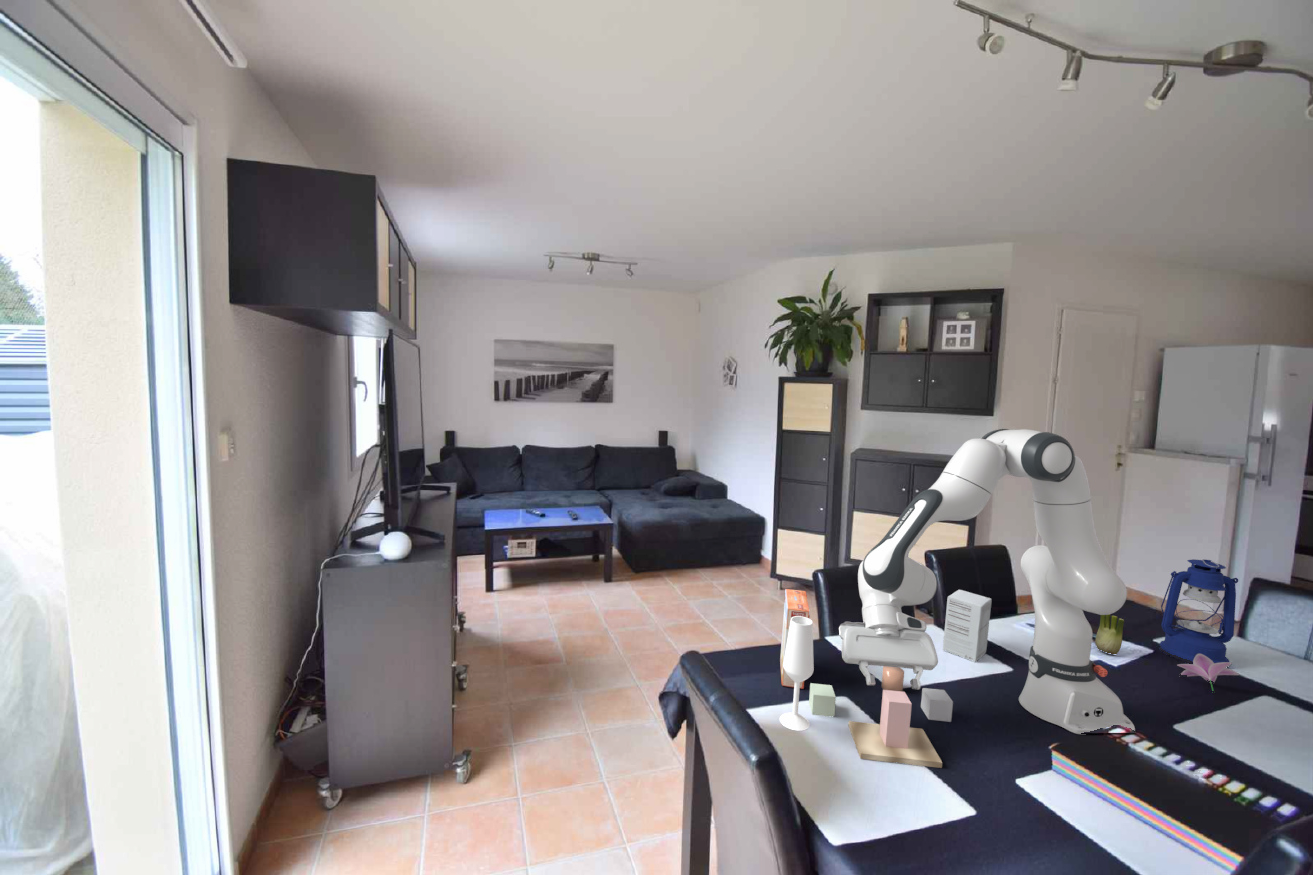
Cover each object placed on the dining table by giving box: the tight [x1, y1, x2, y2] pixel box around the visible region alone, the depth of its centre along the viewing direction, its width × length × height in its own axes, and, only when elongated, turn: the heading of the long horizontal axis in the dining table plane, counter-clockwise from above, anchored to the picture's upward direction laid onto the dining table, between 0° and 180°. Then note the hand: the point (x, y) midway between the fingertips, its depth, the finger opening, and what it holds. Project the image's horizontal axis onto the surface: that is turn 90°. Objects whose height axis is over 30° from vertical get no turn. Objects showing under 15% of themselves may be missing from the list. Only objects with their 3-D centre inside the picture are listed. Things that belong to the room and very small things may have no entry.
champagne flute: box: [779, 616, 815, 732], centre depth 123 cm, size 7×7×24 cm
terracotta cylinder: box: [881, 666, 905, 692], centre depth 140 cm, size 5×5×5 cm
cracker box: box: [779, 588, 811, 690], centre depth 144 cm, size 14×6×21 cm, turn 168°
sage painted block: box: [808, 682, 837, 718], centre depth 129 cm, size 5×5×5 cm
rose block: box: [879, 689, 913, 749], centre depth 117 cm, size 4×4×10 cm
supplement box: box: [942, 589, 992, 663], centre depth 161 cm, size 10×9×17 cm
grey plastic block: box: [920, 687, 954, 723], centre depth 129 cm, size 5×5×5 cm
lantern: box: [1159, 559, 1239, 663], centre depth 163 cm, size 17×15×30 cm
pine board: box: [847, 720, 943, 769], centre depth 117 cm, size 16×11×1 cm
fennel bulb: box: [1094, 614, 1125, 655], centre depth 164 cm, size 6×5×12 cm
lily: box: [1176, 653, 1241, 692], centre depth 146 cm, size 12×12×10 cm
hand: (893, 686), depth 119 cm, fingers open, 8 cm apart
